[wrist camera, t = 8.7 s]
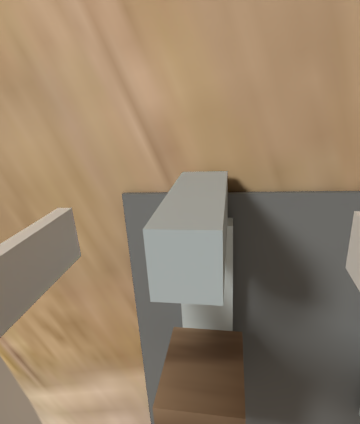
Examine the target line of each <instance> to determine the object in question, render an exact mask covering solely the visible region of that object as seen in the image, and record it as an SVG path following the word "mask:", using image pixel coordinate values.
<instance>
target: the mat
mask: <svg viewBox="0 0 360 424" xmlns="http://www.w3.org/2000/svg"><path fill="white" fill-rule="evenodd" d="M167 194H168V192H162V193H123V194H122V199H123V206H124V214H125V222H126V230H127V238H128V246H129V254H130V261H131V269H132V277H133V285H134V293H135V301H136V309H137V316H138V324H139V332H140V340H141V348H142V356H143V364H144V371H145V379H146V387H147V395H148V403H149V411H150V418H151V424H154V416H153V404H154V400H155V396H156V393H157V389H158V385H159V381H160V377H161V373H162V370H163V366H164V362H165V358H166V354H167V351H168V347H169V343H170V339H171V335H172V331H173V328H174V327H183V324H182V309H181V303H164V302H150V293H149V284H148V274H147V265H146V256H145V246H144V237H143V228H144V227H145V225H146V224H147V222H148V221H149V219H150V218H151V217H152V215H153V214H154V212H155V211H156V209H157V208H158V206H159V205H160V204H161V202H162V201H163V199H164V198H165V196H166V195H167ZM354 211H360V191H301V192H228V218H233V331H239V332H242V337H243V363H244V390H245V416H246V423H245V424H360V416H359V409H360V291H359V290H358V288H357V286H356V285H355V283H354V281H353V280H352V278H351V276H350V275H349V273H348V271H347V270H346V268H345V267H346V261H347V254H348V248H349V241H350V235H351V229H352V222H353V216H354Z"/></svg>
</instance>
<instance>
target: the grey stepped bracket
mask: <svg viewBox="0 0 360 424" xmlns="http://www.w3.org/2000/svg"><path fill="white" fill-rule="evenodd" d="M143 237H144V246H145V256H146V265H147V274H148V284H149V293H150V302H164V303H181V309H182V324H183V328H197V329H211V330H225V331H233V218H228V171H208V172H182V173H181V175H180V176H179V178H178V179H177V181H176V182H175V183H174V185H173V186H172V188H171V189H170V191H169V192H168V194H167V195H166V196H165V198H164V199H163V201H162V202H161V204H160V205H159V206H158V208H157V209H156V211H155V212H154V214H153V215H152V217H151V218H150V219H149V221H148V222H147V224H146V225H145V227H144V228H143Z"/></svg>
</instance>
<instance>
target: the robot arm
mask: <svg viewBox="0 0 360 424" xmlns="http://www.w3.org/2000/svg"><path fill="white" fill-rule="evenodd" d="M80 257H81V252H80V247H79V242H78V237H77V232H76V227H75V222H74V217H73V212H72V208H57V209H55V210H54V211H52V212H51V213H49V214H47V215H46V216H44V217H43V218H41V219H39V220H38V221H36V222H35V223H33V224H31V225H30V226H28V227H27V228H25V229H23V230H22V231H20V232H18V233H17V234H15V235H14V236H12V237H10V238H9V239H7V240H6V241H4V242H2V243H1V244H0V337H1V336H2V335H3V334H4V333H5V332H6V331H7V330H8V329H9V328H10V327H11V326H12V325H13V324H14V323H15V322H16V321H17V320H18V319H19V318H20V317H21V316H22V315H23V314H24V313H25V312H26V311H27V310H28V309H29V308H30V307H31V306H32V305H33V304H34V303H35V302H36V301H37V300H38V299H39V298H40V297H41V296H42V295H43V294H44V293H45V292H46V291H47V290H48V289H49V288H50V287H51V286H52V285H53V284H54V283H55V282H56V281H57V280H58V279H59V278H60V277H61V276H62V275H63V274H64V273H65V272H66V271H67V270H68V269H69V268H70V267H71V266H72V265H73V264H74V263H75V262H76V261H77V260H78V259H79V258H80ZM345 268H346V270H347V271H348V273H349V275H350V276H351V278H352V280H353V281H354V283H355V285H356V286H357V288H358V290H359V291H360V211H354V216H353V222H352V229H351V235H350V241H349V248H348V254H347V261H346V267H345Z"/></svg>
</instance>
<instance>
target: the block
mask: <svg viewBox="0 0 360 424" xmlns="http://www.w3.org/2000/svg"><path fill="white" fill-rule="evenodd" d="M153 416H154V424H245V423H246V416H245V390H244V363H243V337H242V332H239V331H225V330H211V329H197V328H183V327H174V328H173V331H172V335H171V339H170V343H169V347H168V351H167V354H166V358H165V362H164V366H163V370H162V373H161V377H160V381H159V385H158V389H157V393H156V396H155V400H154V404H153Z"/></svg>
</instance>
